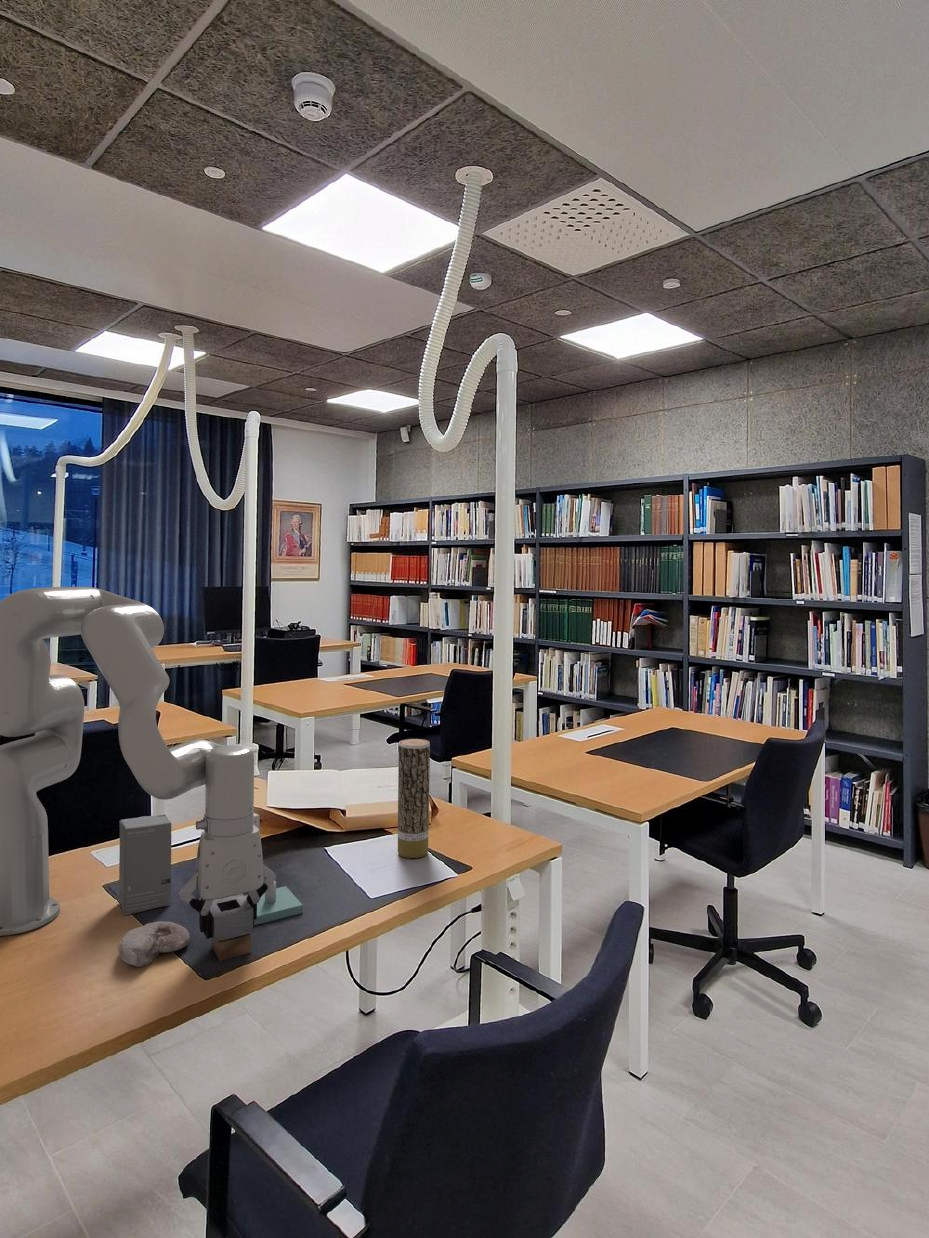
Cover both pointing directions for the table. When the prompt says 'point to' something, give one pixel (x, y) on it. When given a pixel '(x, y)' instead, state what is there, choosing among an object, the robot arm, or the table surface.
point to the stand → (232, 947)
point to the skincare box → (145, 863)
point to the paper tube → (413, 798)
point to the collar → (231, 917)
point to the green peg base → (277, 904)
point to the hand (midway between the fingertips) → (228, 928)
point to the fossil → (152, 942)
